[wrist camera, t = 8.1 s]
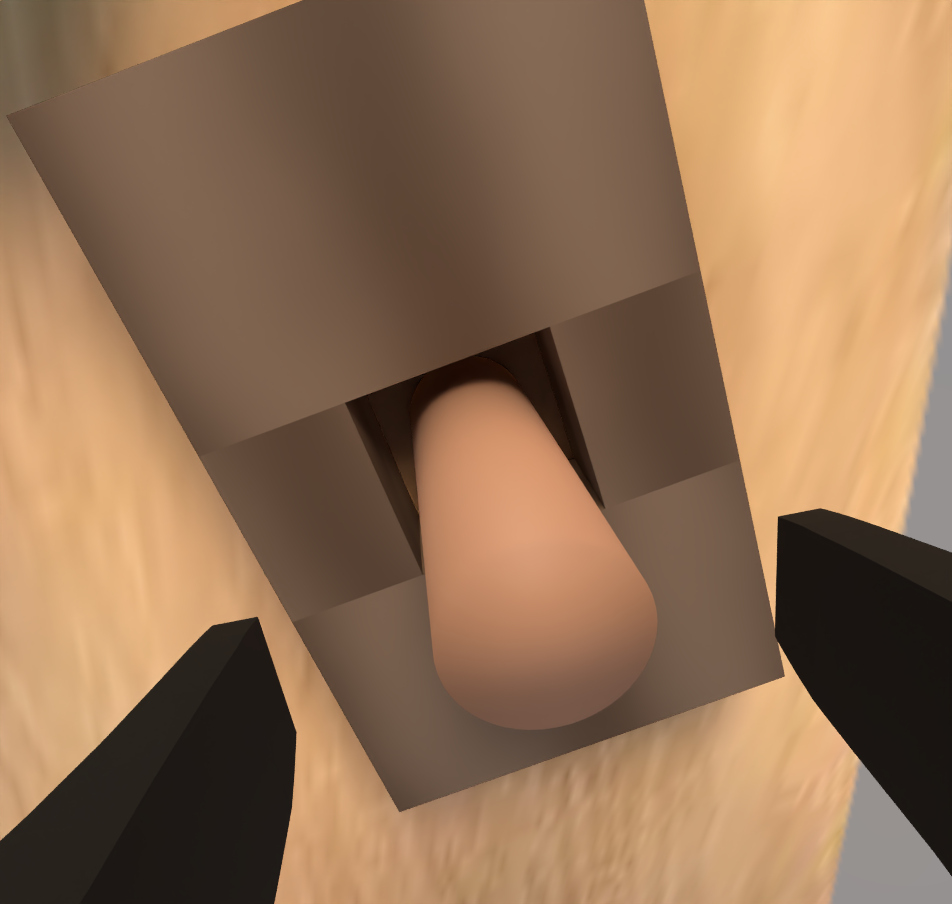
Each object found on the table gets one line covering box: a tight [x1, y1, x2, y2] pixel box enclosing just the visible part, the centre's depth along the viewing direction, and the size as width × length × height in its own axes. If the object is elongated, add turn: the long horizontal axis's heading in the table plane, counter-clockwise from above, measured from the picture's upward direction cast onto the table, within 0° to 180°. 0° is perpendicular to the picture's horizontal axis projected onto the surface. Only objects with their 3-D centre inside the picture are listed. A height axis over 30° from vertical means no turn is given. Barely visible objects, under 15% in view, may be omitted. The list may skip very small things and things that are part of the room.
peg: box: [410, 356, 658, 730], centre depth 13 cm, size 3×3×10 cm
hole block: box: [7, 0, 785, 812], centre depth 16 cm, size 11×18×3 cm, turn 19°
